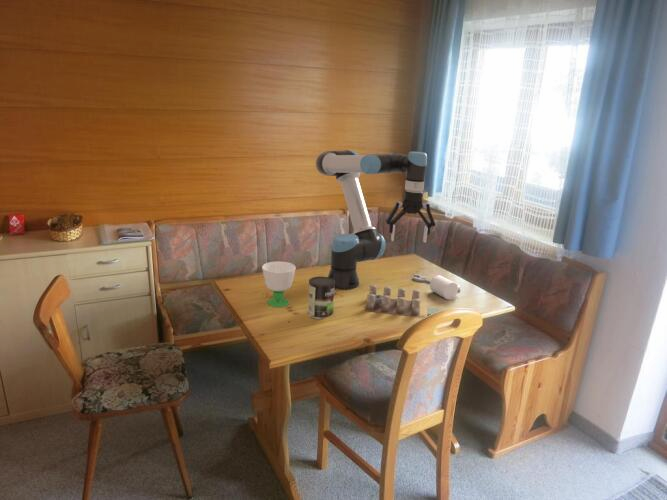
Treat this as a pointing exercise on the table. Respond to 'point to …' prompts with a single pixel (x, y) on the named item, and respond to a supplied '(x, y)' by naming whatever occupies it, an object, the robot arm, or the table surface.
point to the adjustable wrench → (423, 279)
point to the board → (394, 303)
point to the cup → (278, 281)
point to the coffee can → (321, 297)
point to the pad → (432, 310)
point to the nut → (378, 301)
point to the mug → (444, 287)
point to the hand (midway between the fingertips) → (408, 241)
